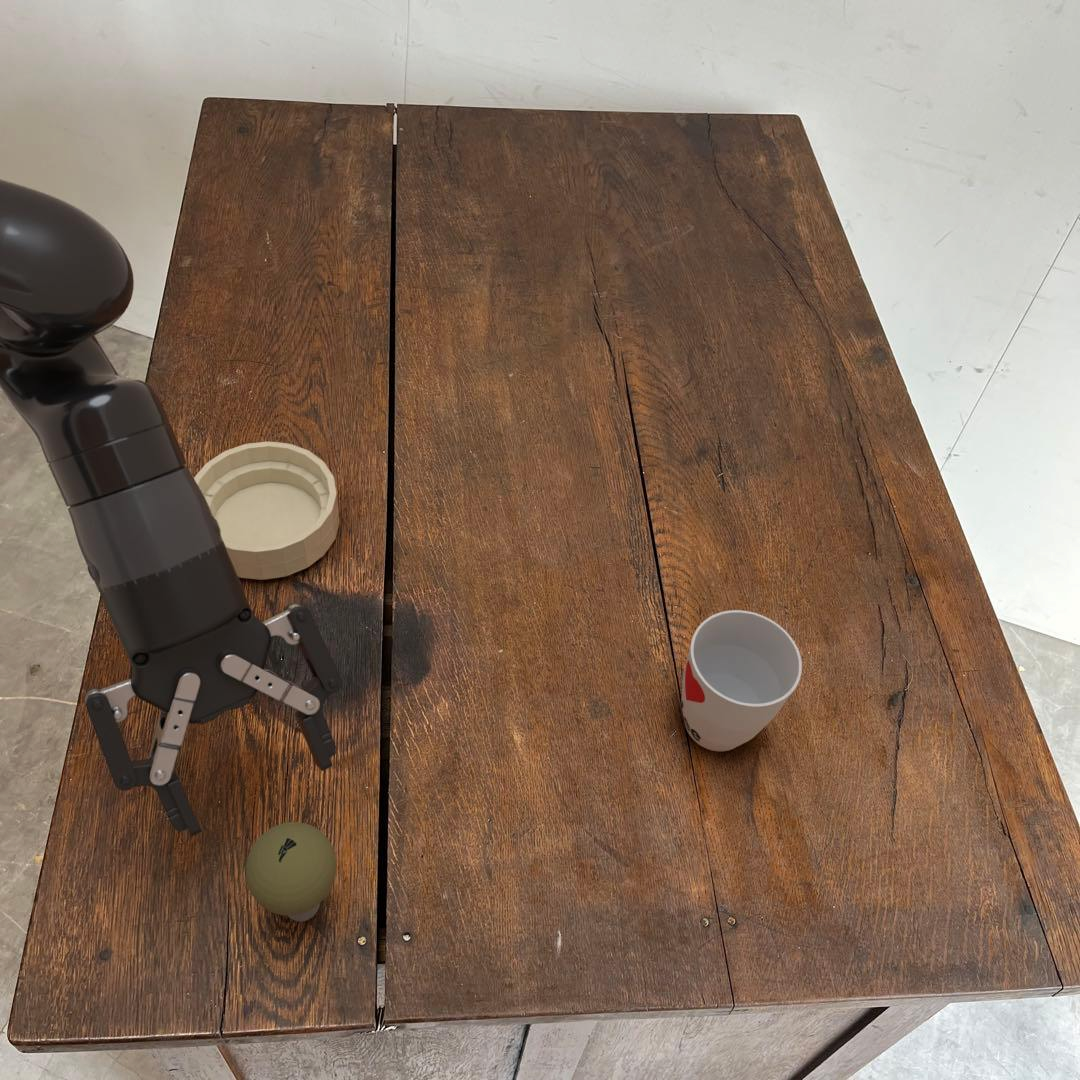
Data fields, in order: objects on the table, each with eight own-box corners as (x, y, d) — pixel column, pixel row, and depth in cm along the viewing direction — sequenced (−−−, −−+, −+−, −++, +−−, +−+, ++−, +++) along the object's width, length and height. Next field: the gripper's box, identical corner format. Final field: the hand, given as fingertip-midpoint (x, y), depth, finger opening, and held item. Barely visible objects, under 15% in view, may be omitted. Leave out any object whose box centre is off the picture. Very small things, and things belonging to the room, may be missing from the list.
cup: (673, 668, 85) (697, 599, 77) (770, 691, 84) (805, 624, 76) (659, 755, 80) (683, 691, 72) (762, 780, 79) (798, 717, 71)
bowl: (228, 604, 85) (219, 572, 82) (176, 505, 91) (166, 471, 88) (362, 549, 90) (360, 517, 86) (305, 458, 96) (300, 424, 92)
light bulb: (271, 862, 72) (251, 802, 64) (350, 870, 72) (341, 811, 64) (251, 944, 69) (228, 891, 61) (335, 952, 69) (323, 900, 61)
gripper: (261, 512, 67) (349, 733, 70) (35, 599, 61) (142, 834, 65) (285, 516, 60) (382, 760, 64) (34, 613, 55) (154, 875, 58)
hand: (260, 797), depth 64 cm, fingers open, 8 cm apart
